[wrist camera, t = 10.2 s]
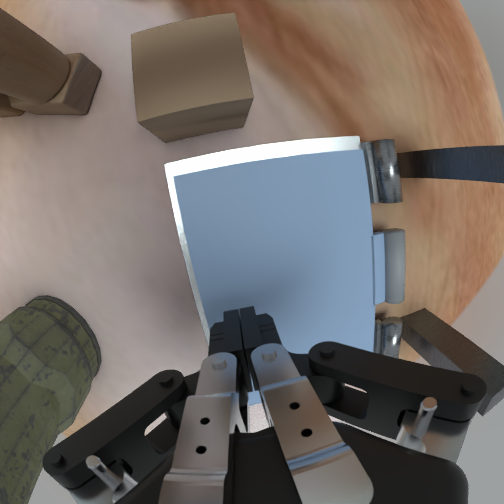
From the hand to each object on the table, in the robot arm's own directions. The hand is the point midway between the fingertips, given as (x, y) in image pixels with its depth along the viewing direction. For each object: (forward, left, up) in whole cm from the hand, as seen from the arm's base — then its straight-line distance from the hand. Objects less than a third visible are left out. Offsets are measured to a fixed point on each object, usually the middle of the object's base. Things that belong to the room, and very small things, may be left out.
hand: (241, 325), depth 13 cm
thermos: (+2, -16, -6) cm, 17 cm away
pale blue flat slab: (0, +5, -4) cm, 6 cm away
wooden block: (-18, -12, -6) cm, 22 cm away
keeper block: (-13, 0, -5) cm, 14 cm away
